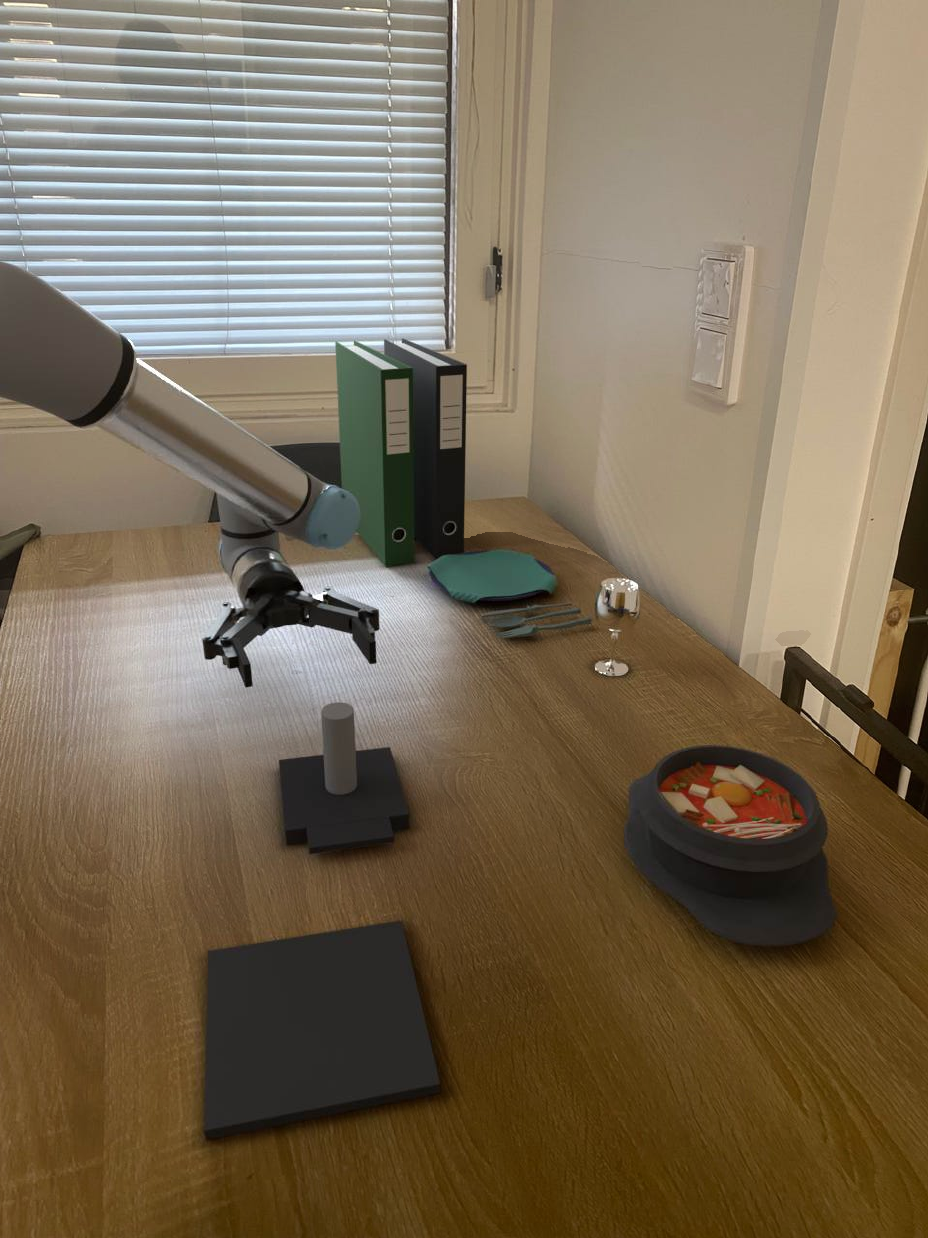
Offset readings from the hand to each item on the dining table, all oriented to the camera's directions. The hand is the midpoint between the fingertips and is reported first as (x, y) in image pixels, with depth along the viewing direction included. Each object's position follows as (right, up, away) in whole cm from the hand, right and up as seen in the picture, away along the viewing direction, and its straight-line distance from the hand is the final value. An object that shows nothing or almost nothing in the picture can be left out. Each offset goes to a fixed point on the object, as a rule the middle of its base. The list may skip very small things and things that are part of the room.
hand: (312, 664), depth 97 cm
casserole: (+41, -18, -11) cm, 46 cm away
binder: (+5, +20, +68) cm, 71 cm away
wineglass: (+36, -2, +24) cm, 43 cm away
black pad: (+5, -26, -28) cm, 38 cm away
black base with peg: (+4, -15, -4) cm, 16 cm away
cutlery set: (+22, +8, +44) cm, 50 cm away
